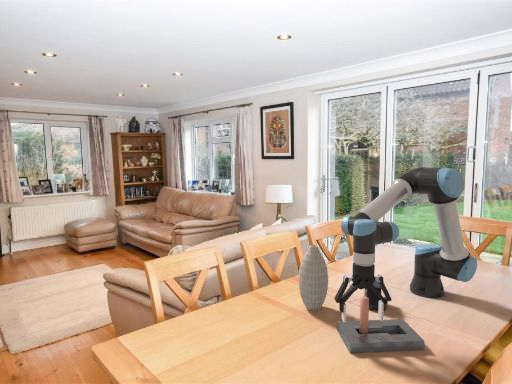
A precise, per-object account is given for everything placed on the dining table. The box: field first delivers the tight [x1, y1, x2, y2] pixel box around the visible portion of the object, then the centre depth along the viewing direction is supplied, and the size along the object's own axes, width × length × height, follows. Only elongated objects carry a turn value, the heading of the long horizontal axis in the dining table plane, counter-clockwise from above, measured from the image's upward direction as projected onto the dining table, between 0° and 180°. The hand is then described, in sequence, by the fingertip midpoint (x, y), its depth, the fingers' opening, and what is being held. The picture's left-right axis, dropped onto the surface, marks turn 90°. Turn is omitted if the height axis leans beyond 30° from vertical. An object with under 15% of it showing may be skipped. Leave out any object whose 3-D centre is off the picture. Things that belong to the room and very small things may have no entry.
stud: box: [359, 295, 370, 334], centre depth 128 cm, size 5×5×16 cm
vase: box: [298, 244, 329, 312], centre depth 155 cm, size 13×13×28 cm
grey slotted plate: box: [336, 318, 425, 354], centre depth 129 cm, size 26×16×4 cm, turn 93°
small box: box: [363, 280, 382, 311], centre depth 158 cm, size 11×6×10 cm, turn 168°
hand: (362, 320), depth 128 cm, fingers open, 13 cm apart
